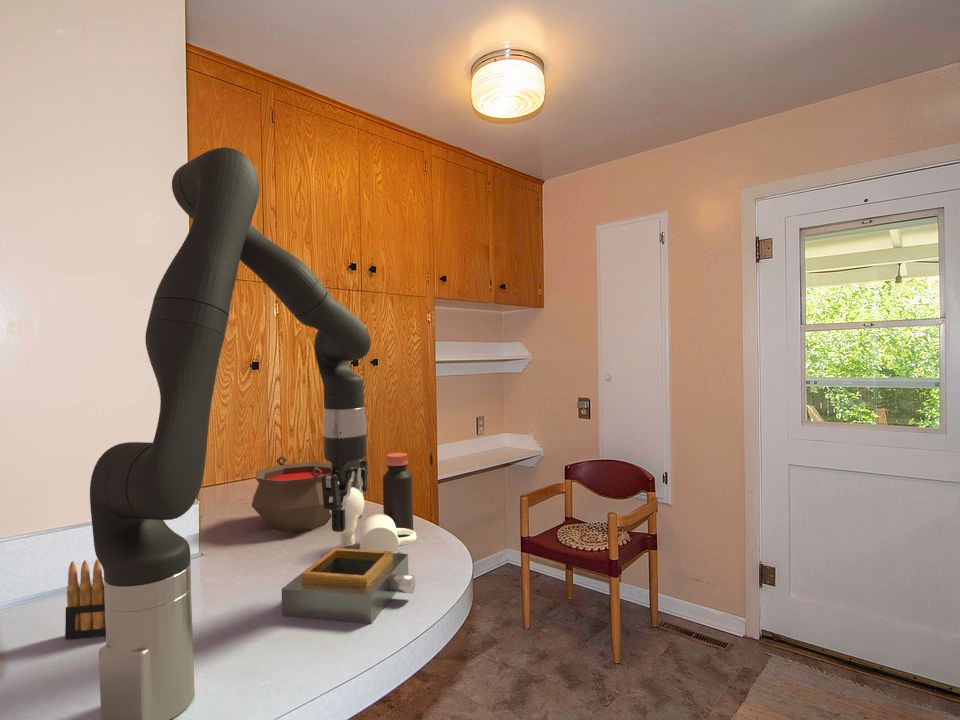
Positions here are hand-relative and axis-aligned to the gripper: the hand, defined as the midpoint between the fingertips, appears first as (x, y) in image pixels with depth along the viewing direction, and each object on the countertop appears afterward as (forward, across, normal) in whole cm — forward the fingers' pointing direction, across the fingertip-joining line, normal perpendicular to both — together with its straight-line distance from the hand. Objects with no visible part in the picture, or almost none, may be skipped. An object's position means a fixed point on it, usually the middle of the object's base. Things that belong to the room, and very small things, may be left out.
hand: (347, 524), depth 98 cm
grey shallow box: (+13, 0, -2) cm, 13 cm away
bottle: (+13, +28, +1) cm, 31 cm away
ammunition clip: (+13, -19, +33) cm, 40 cm away
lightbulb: (+4, 0, 0) cm, 4 cm away
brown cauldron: (+13, +36, +31) cm, 49 cm away
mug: (+13, +19, 0) cm, 23 cm away
